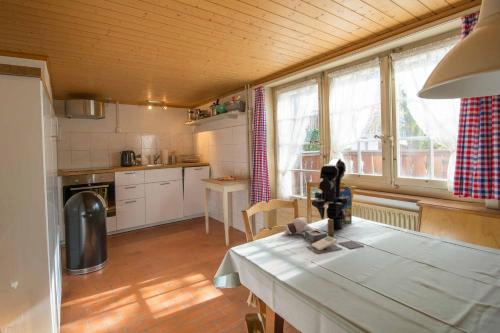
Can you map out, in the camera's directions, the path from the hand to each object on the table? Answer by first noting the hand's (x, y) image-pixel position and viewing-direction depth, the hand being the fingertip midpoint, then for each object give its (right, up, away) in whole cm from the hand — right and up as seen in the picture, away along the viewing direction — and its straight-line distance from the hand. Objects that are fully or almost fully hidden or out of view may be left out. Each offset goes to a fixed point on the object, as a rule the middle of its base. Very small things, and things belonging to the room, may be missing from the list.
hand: (329, 218), depth 135 cm
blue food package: (+14, -8, +25) cm, 29 cm away
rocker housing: (-7, -11, -15) cm, 20 cm away
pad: (+6, -11, -12) cm, 17 cm away
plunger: (-9, -9, -4) cm, 13 cm away
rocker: (-8, -9, -15) cm, 19 cm away
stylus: (+1, -10, 0) cm, 10 cm away
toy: (-16, -10, +5) cm, 20 cm away
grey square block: (-8, -10, -4) cm, 14 cm away
